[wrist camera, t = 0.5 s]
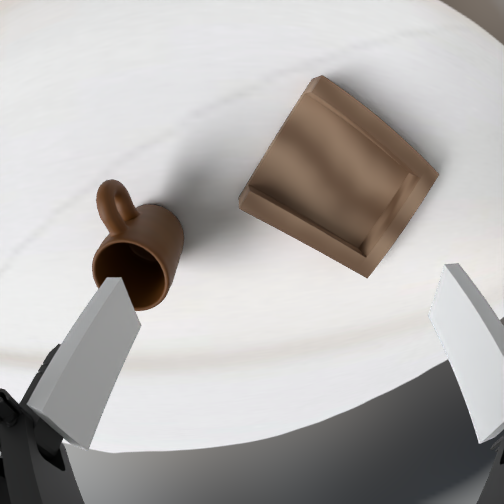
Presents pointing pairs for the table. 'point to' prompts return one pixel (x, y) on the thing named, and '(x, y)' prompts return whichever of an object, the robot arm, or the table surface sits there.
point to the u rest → (338, 179)
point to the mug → (137, 246)
